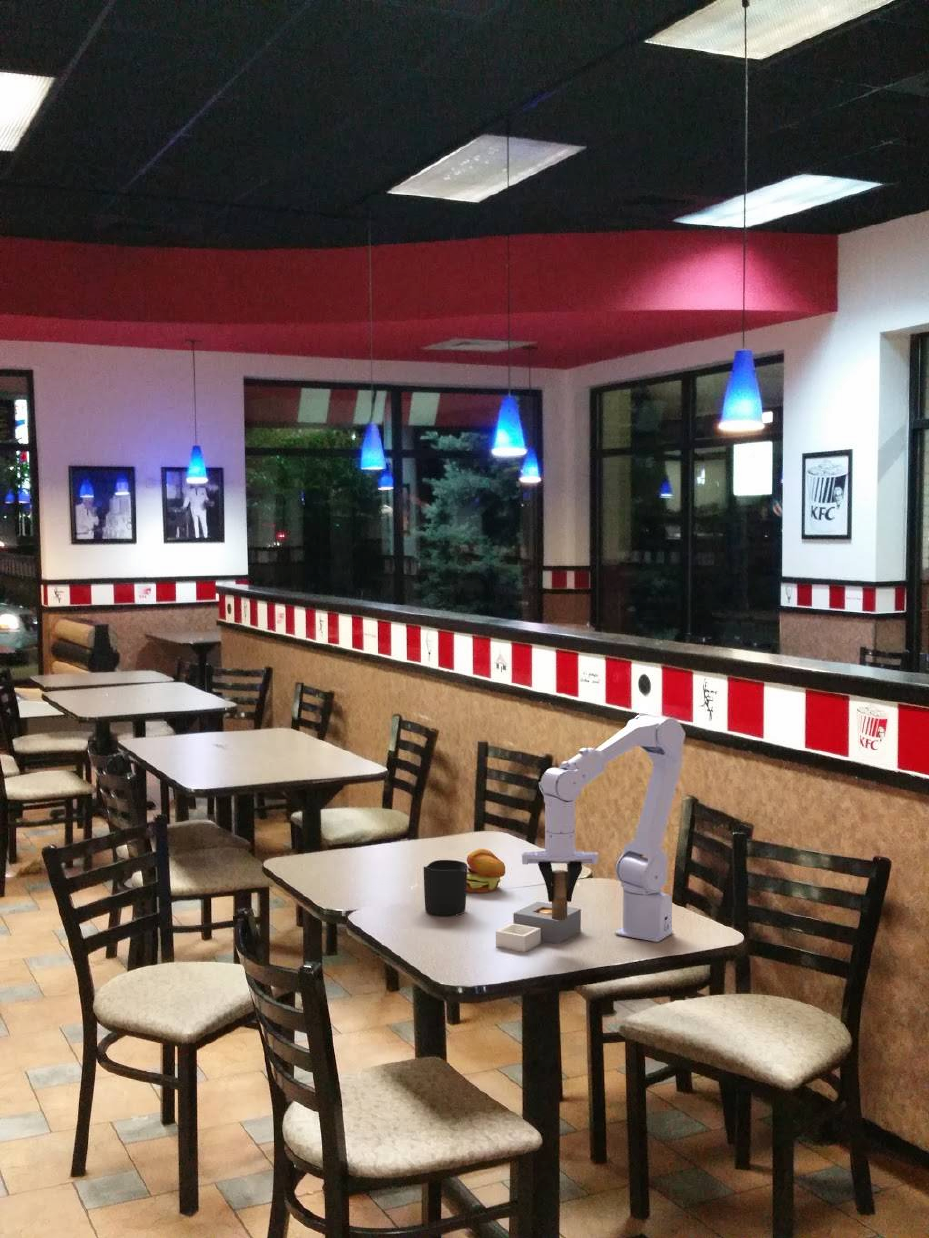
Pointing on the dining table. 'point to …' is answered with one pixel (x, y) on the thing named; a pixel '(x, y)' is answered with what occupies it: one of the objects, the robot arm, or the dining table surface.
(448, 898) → the pen holder
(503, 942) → the box
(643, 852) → the robot arm
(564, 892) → the brown wooden cylinder
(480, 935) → the dining table surface
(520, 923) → the box
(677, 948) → the dining table surface
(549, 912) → the button
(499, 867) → the cheeseburger
